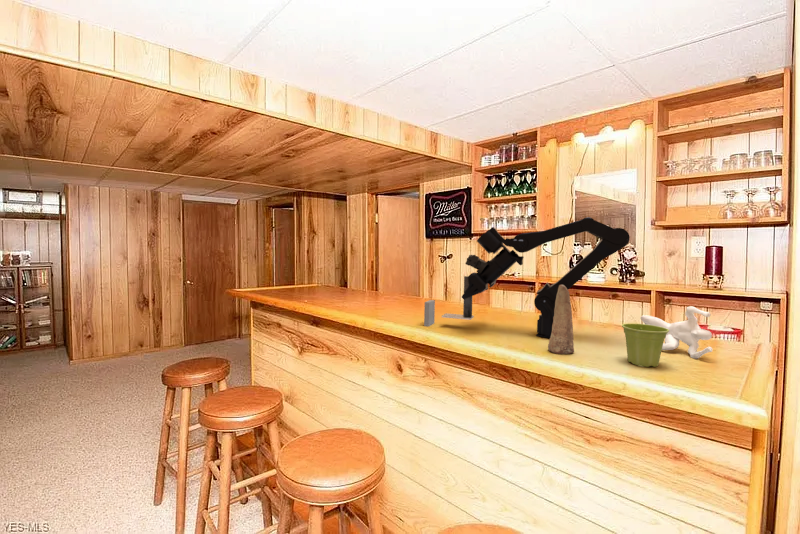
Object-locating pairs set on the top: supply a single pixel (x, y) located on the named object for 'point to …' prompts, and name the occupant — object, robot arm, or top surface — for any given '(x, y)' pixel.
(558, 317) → the stone cone
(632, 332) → the plant pot
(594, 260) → the robot arm
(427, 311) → the tile
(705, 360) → the top surface
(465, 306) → the upright dark post
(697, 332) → the person figurine
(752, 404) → the top surface
